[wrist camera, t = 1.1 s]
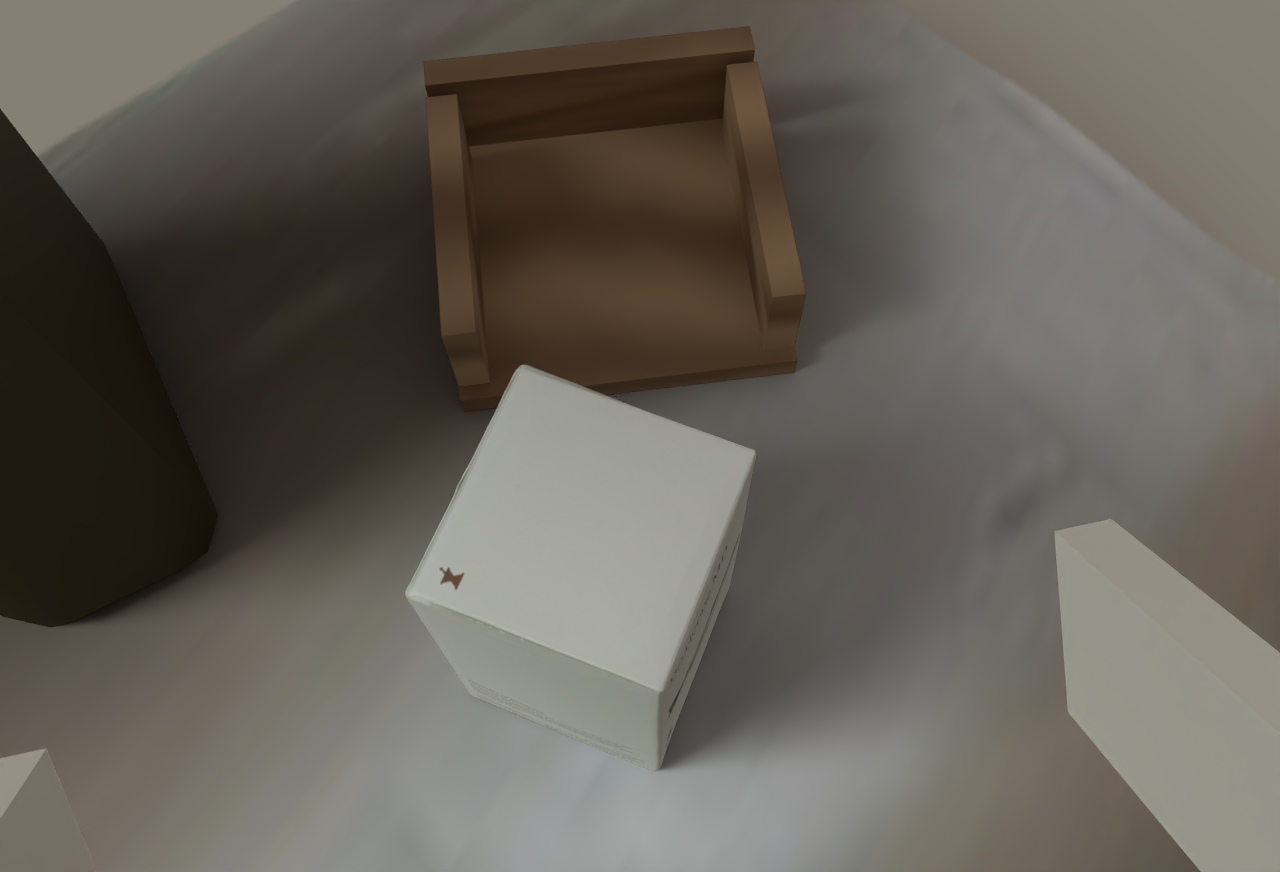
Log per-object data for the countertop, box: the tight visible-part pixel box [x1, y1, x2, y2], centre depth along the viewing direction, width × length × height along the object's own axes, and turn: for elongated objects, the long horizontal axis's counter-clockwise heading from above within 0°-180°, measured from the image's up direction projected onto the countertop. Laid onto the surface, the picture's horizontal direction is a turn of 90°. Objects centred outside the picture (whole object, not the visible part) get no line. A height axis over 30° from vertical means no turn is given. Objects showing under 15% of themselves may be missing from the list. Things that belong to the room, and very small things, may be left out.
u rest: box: [423, 26, 806, 412], centre depth 47 cm, size 13×13×5 cm
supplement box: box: [405, 365, 757, 771], centre depth 37 cm, size 7×7×13 cm
